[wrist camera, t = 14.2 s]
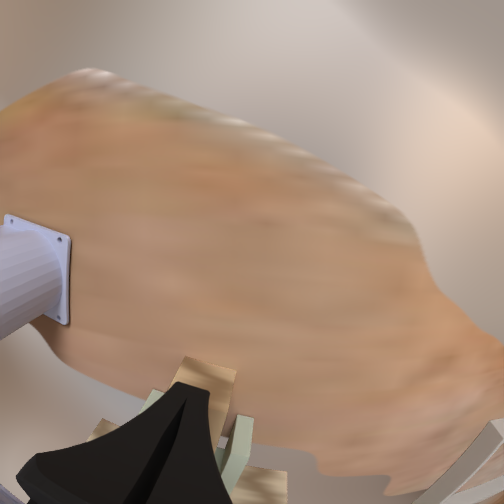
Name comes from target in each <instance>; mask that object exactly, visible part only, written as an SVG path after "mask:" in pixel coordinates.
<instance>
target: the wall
mask: <svg viewBox="0 0 504 504" xmlns="http://www.w3.org/2000/svg"><path fill="white" fill-rule="evenodd" d="M119 427H120V426H118V425H116V424H114V423H111V422H109V421H107V420H105V419H103V418H102V420H101V421H100V423H99V424H98V425H97V427H96V428H95V430H94V431H93V433H92V434H91V435H90V437H89V438H88V440H87V441H86V442H88V441H91V440H93V439H96V438H98V437H100V436H102V435H105V434H107V433H109V432H111V431H113V430H115V429H117V428H119ZM230 498H231V501H232V503H233V504H287V472H286V471H278V470H270V469H264V468H257V467H252V466H245V468H244V470H243V471H242V473H241V475H240V477H239V479H238V481H237V483H236V485H235V486H234V488H233V490H232V492H231V494H230Z"/></svg>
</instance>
